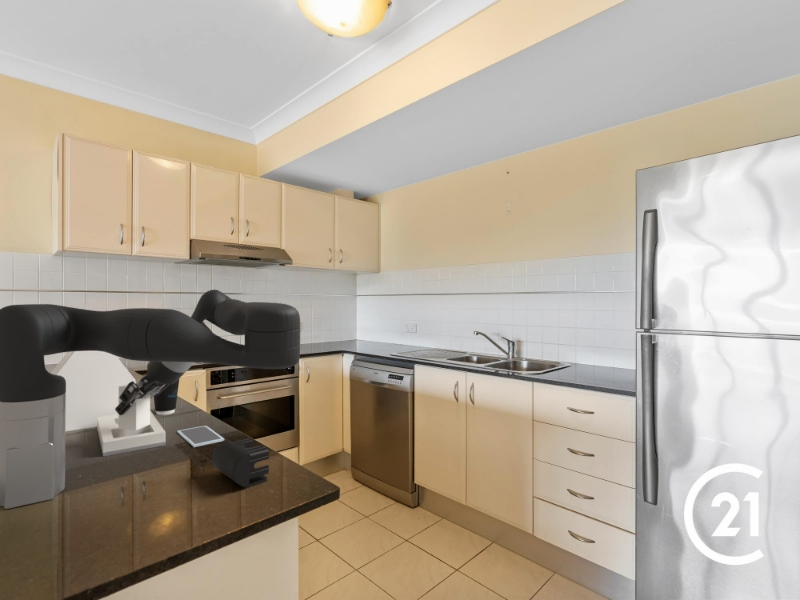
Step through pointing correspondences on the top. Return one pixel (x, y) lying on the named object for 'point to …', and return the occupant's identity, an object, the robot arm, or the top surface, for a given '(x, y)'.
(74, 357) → the milk carton
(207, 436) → the phone
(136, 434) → the outlet strip
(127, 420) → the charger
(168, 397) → the dixie cup
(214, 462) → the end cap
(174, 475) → the top surface
